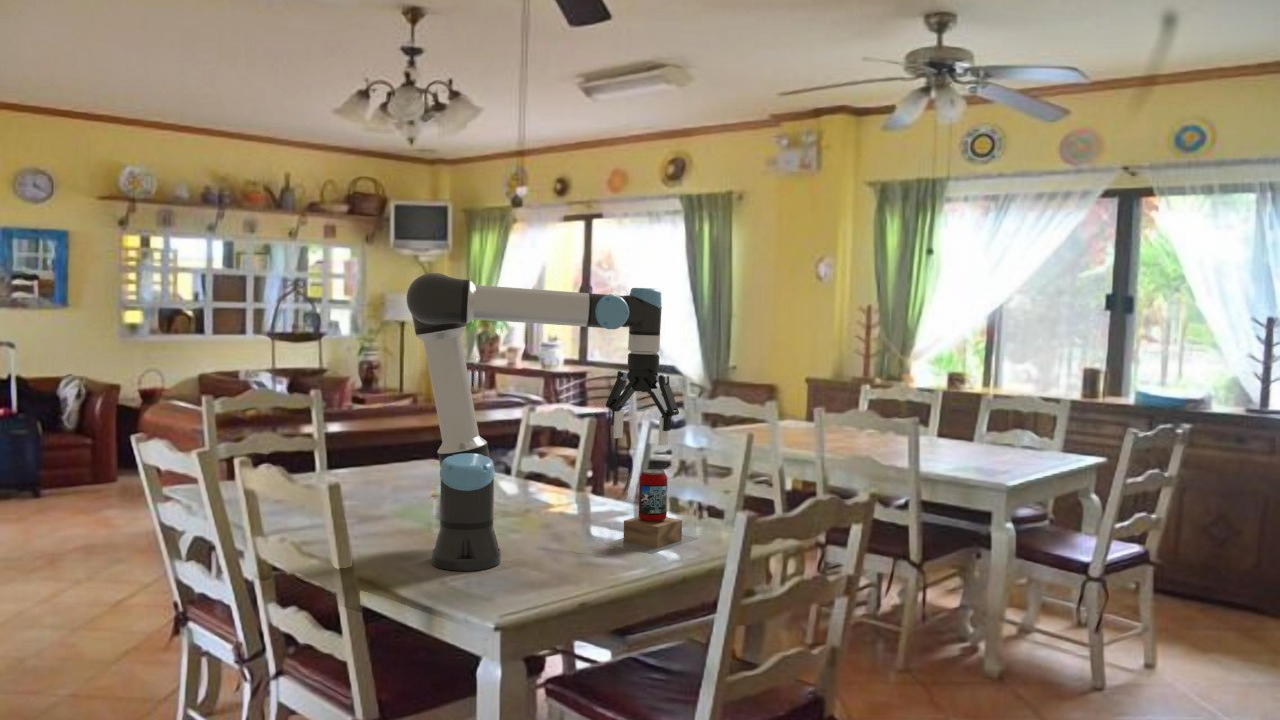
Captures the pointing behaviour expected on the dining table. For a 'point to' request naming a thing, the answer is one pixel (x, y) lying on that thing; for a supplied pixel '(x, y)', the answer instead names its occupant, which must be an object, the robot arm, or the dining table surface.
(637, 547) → the flat plate
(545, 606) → the dining table surface
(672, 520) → the walnut block
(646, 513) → the beverage can
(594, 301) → the robot arm
